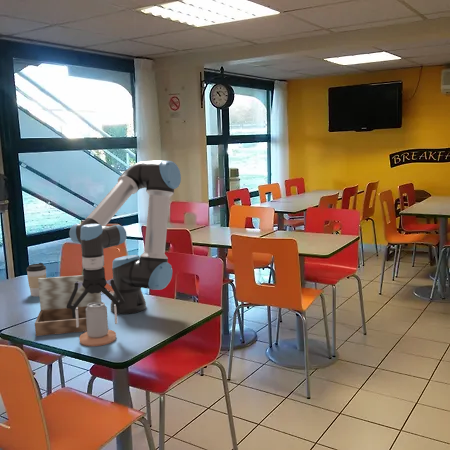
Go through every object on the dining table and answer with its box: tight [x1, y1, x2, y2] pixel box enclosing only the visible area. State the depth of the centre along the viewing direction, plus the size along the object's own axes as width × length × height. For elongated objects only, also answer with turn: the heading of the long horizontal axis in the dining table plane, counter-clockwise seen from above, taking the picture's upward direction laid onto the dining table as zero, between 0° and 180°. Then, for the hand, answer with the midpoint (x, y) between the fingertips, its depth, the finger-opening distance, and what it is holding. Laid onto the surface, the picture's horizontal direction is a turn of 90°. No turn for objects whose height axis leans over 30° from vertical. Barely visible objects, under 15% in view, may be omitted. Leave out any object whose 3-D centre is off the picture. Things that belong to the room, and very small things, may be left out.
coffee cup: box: [25, 262, 47, 297], centre depth 243 cm, size 9×9×15 cm
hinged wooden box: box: [34, 274, 102, 337], centre depth 198 cm, size 24×17×18 cm
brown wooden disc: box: [78, 329, 117, 347], centre depth 184 cm, size 13×13×2 cm
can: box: [86, 301, 109, 338], centre depth 183 cm, size 8×8×12 cm
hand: (97, 324), depth 183 cm, fingers open, 13 cm apart
